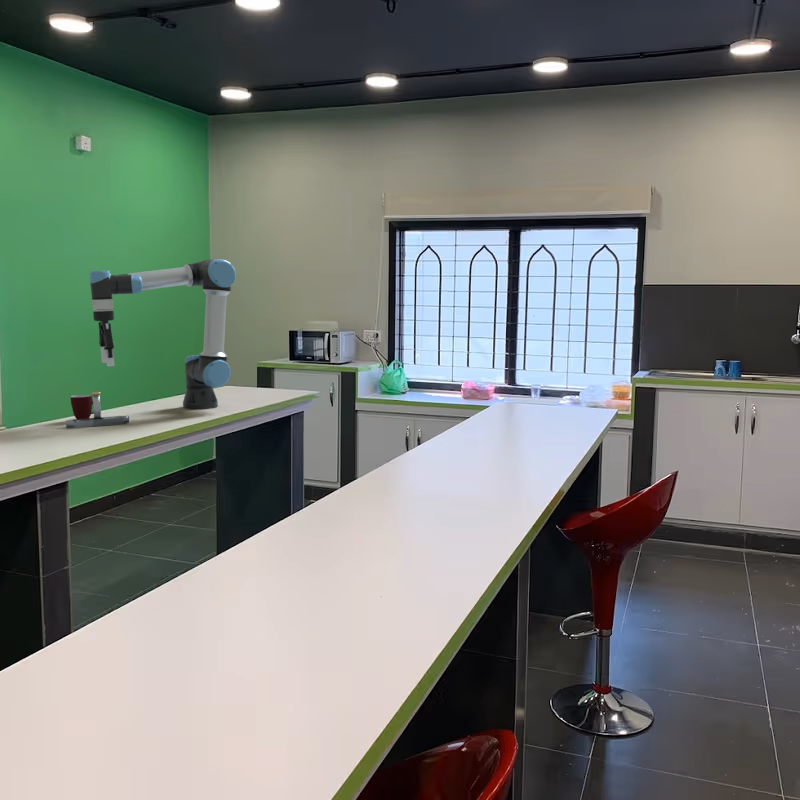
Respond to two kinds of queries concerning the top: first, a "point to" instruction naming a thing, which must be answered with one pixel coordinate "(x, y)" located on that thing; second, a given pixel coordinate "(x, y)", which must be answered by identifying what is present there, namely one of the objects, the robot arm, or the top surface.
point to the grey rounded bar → (97, 421)
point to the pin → (96, 405)
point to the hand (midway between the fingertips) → (108, 364)
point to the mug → (82, 406)
